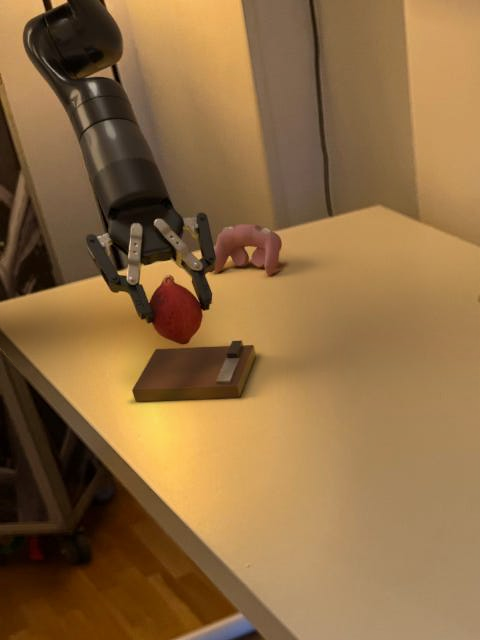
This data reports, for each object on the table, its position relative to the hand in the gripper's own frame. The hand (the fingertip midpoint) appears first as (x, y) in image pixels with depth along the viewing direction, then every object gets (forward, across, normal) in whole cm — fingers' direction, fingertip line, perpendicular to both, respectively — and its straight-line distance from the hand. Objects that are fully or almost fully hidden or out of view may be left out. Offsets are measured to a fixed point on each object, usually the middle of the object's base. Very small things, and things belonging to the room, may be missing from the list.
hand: (179, 313), depth 111 cm
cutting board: (+6, 0, +6) cm, 8 cm away
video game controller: (-17, +17, +29) cm, 37 cm away
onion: (+2, 0, +4) cm, 5 cm away
